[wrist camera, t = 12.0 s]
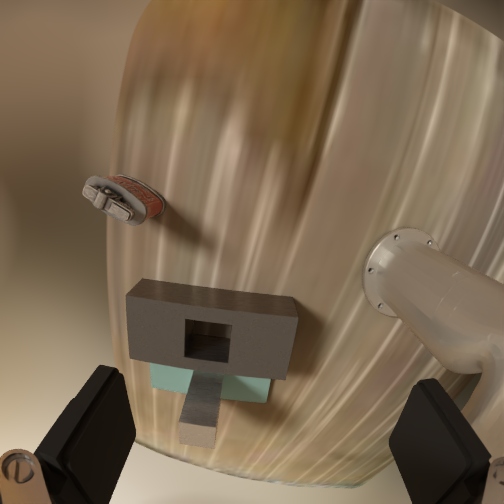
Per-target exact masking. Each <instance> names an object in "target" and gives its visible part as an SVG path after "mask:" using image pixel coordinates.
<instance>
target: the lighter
mask: <svg viewBox="0 0 504 504" xmlns="http://www.w3.org/2000/svg"><path fill="white" fill-rule="evenodd" d="M83 195H84V196H85V197H87V198H88V199H89V200H90V201H91V202H92V203H93V205H94V206H95V207H96V208H98V209H100V210H102V211H103V212H104V213H106V214H107V215H109V216H111V217H113V218H115V219H117V220H119V221H121V222H124V223H127V224H129V225H133V226H136V225H139V224H141V223H142V222H144V221H145V220H146V219H148V218H151V217H156V216H159V215H161V214H162V213H163V212H164V210H165V208H166V202H165V199H164V198H163V197H162V196H161V195H160V194H158V193H157V192H156V191H155V190H154V189H152V188H151V187H149V186H148V185H146V184H145V183H143V182H141V181H139V180H137V179H135V178H132V177H129V176H126V175H117V176H114V177H102V176H92V177H90V178H89V179H88V180H87V181H86V183H85V187H84V189H83Z"/></svg>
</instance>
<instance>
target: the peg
mask: <svg viewBox="0 0 504 504" xmlns="http://www.w3.org/2000/svg"><path fill="white" fill-rule="evenodd" d="M223 379H224V374H217V373H210V372H203V371H196V370H194V371H193V374H192V378H191V381H190V385H189V388H188V392H187V395H186V399H185V402H184V406H183V409H182V413H181V416H180V420H179V437H180V444H185V445H191V446H198V447H205V448H212V449H214V447H215V440H216V433H217V425H218V418H219V411H220V404H221V397H222V389H223Z"/></svg>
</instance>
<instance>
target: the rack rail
mask: <svg viewBox="0 0 504 504" xmlns="http://www.w3.org/2000/svg"><path fill="white" fill-rule="evenodd" d="M126 314H127V331H128V344H129V355H130V359H135V360H140V361H145V362H150V363H155V364H160V365H165V366H171V367H177V368H183V369H189V370H196V371H203V372H210V373H217V374H225V375H234V376H243V377H254V378H265V379H278V380H286V375H287V371H288V366H289V362H290V357H291V353H292V348H293V343H294V338H295V334H296V329H297V324H298V319H299V317H298V313H297V310H296V306H295V303H294V300H293V297H287V296H277V295H268V294H259V293H250V292H241V291H232V290H224V289H216V288H208V287H200V286H192V285H185V284H178V283H170V282H163V281H156V280H149V279H143V278H142V279H141V280H140V281H139V282H138V283H137V284H136V285H135V286H134V287H133V288H132V289H131V290H130V291H129V292H128V293H127V294H126ZM193 320H197V321H205V322H212V323H220V324H228V325H232V331H231V339H229V338H221V337H213V336H205V335H198V334H193Z"/></svg>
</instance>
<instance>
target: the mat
mask: <svg viewBox="0 0 504 504" xmlns="http://www.w3.org/2000/svg"><path fill="white" fill-rule="evenodd" d="M193 371H194V370H189V369H183V368H177V367H171V366H165V365H160V364H155V363H150V374H151V386H152V387H153V388H158V389H163V390H168V391H173V392H179V393H185V394H187V392H188V388H189V385H190V381H191V378H192V374H193ZM270 381H271V379H265V378H254V377H243V376H234V375H225V374H224V379H223V389H222V397H221V399H228V400H237V401H247V402H259V403H266V401H267V396H268V391H269V386H270Z"/></svg>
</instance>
